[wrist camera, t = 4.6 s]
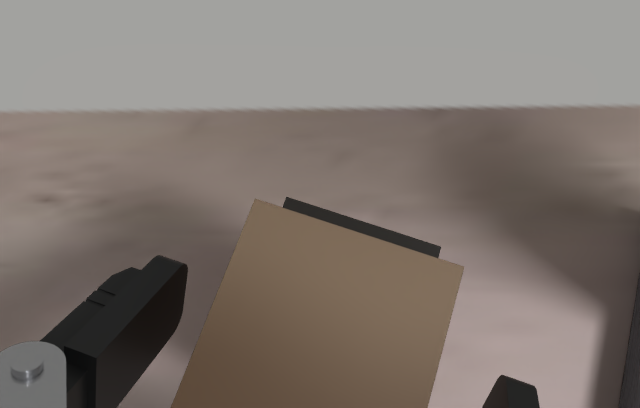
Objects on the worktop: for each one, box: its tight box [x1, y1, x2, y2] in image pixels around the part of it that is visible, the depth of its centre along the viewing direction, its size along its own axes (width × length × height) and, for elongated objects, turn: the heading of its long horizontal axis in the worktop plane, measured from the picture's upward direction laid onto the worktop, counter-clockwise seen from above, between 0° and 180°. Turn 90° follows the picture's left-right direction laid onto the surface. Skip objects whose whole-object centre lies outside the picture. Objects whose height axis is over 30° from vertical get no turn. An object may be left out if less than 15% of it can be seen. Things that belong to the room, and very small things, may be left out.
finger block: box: [171, 197, 464, 408], centre depth 13 cm, size 4×4×11 cm
